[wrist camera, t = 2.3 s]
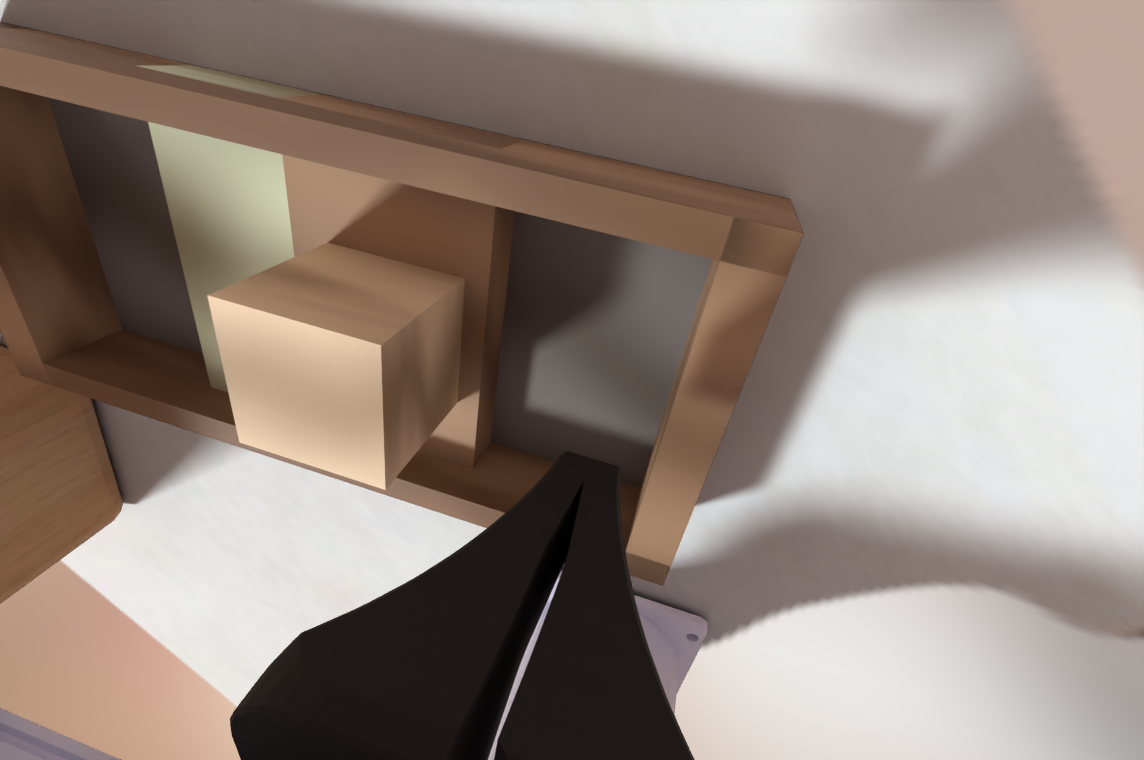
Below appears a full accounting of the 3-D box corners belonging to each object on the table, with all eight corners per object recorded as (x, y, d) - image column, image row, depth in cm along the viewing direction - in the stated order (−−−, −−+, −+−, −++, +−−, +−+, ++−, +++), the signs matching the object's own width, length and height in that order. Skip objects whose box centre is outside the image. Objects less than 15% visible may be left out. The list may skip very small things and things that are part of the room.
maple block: (457, 402, 18) (385, 490, 15) (338, 367, 19) (238, 442, 15) (465, 278, 16) (381, 345, 12) (328, 242, 16) (207, 295, 13)
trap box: (673, 512, 21) (662, 585, 18) (106, 337, 24) (20, 375, 21) (789, 199, 14) (803, 233, 12) (-2, 21, 18) (-146, 13, 15)
